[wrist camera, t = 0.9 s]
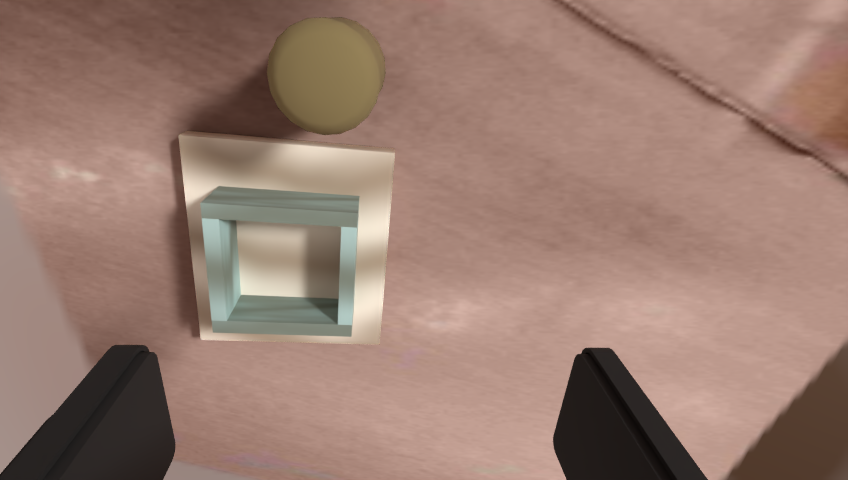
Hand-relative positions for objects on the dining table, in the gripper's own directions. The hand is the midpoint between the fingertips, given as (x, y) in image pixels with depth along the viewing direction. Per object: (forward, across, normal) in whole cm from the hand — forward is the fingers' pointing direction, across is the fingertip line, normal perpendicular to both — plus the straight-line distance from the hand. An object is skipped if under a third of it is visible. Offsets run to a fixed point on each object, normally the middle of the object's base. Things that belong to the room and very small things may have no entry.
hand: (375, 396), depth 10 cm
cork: (+24, +3, -5) cm, 25 cm away
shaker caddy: (+24, +6, +8) cm, 26 cm away
